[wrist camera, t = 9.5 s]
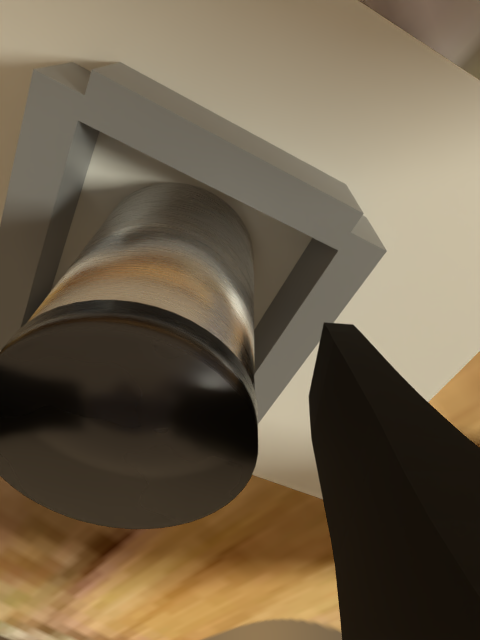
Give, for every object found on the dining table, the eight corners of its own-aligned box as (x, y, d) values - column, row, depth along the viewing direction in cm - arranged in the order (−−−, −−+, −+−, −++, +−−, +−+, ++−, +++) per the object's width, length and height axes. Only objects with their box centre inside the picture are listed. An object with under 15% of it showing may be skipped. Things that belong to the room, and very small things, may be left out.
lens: (260, 185, 12) (269, 338, 6) (250, 326, 14) (250, 534, 8) (89, 176, 12) (-72, 322, 6) (109, 319, 14) (9, 523, 8)
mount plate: (622, 179, 12) (717, 218, 10) (325, 485, 20) (336, 552, 17) (-188, -351, 8) (-400, -533, 5) (-175, 307, 15) (-260, 362, 13)
